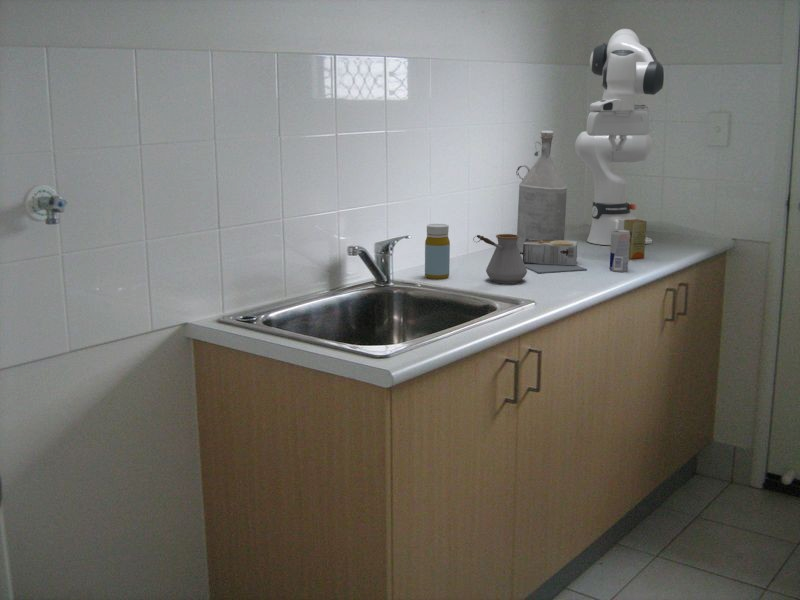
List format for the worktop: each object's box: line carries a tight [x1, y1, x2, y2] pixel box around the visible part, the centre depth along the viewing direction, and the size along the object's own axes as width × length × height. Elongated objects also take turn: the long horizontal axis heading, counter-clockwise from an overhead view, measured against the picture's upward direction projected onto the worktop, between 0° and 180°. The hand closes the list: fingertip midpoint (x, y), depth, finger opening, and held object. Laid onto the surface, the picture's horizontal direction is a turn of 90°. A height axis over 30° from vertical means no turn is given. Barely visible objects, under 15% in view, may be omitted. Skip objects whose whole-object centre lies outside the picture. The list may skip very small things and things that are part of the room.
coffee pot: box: [472, 233, 528, 284], centre depth 245 cm, size 21×12×15 cm, turn 141°
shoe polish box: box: [624, 218, 647, 261], centre depth 283 cm, size 5×5×12 cm
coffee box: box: [522, 239, 578, 266], centre depth 274 cm, size 9×6×16 cm
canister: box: [516, 130, 568, 254], centre depth 288 cm, size 13×17×40 cm
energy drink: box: [608, 229, 630, 273], centre depth 263 cm, size 5×5×12 cm
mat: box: [524, 263, 588, 275], centre depth 269 cm, size 16×16×1 cm
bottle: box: [424, 223, 451, 280], centre depth 253 cm, size 7×7×15 cm
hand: (616, 150), depth 274 cm, fingers closed
